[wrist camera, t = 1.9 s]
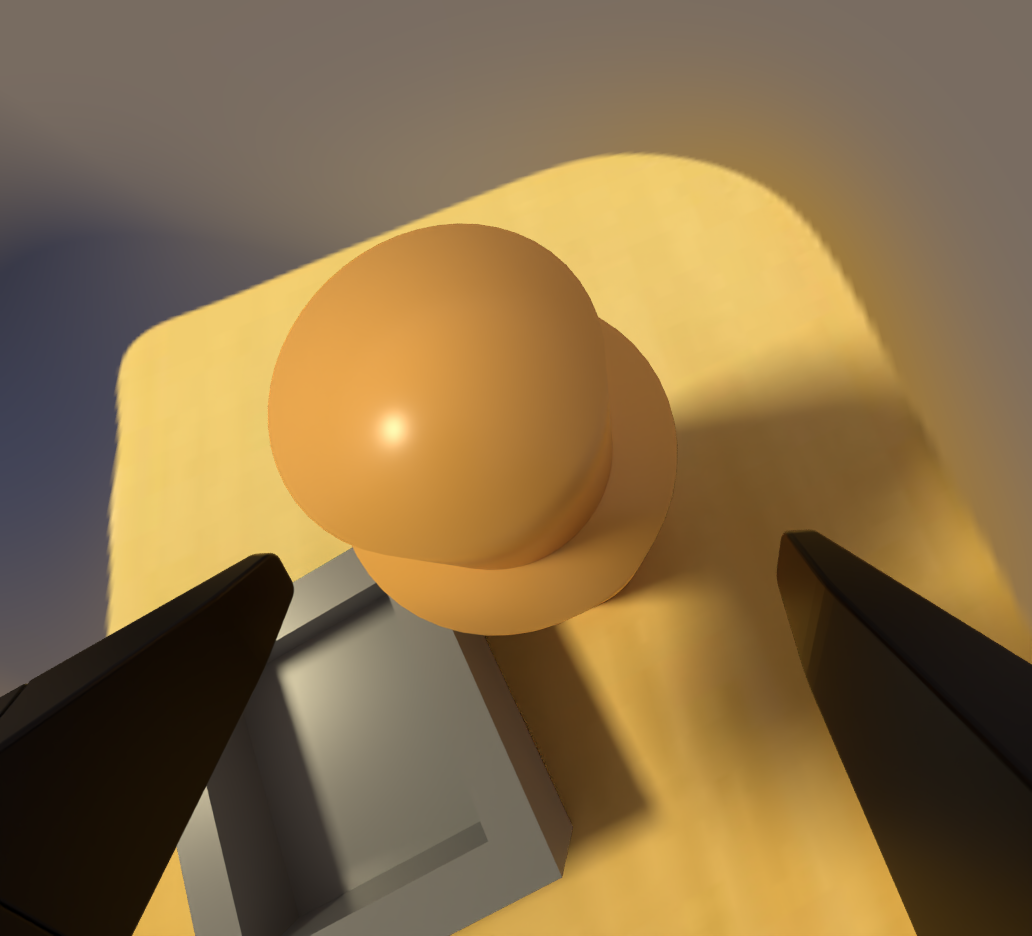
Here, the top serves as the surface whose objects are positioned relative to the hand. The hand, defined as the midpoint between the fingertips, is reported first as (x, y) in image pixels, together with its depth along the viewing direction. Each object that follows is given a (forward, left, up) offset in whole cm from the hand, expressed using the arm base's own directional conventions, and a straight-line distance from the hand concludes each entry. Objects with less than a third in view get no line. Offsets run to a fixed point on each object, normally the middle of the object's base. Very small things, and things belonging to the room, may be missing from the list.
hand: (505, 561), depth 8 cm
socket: (-1, +9, -9) cm, 13 cm away
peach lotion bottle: (+2, -1, -9) cm, 9 cm away
